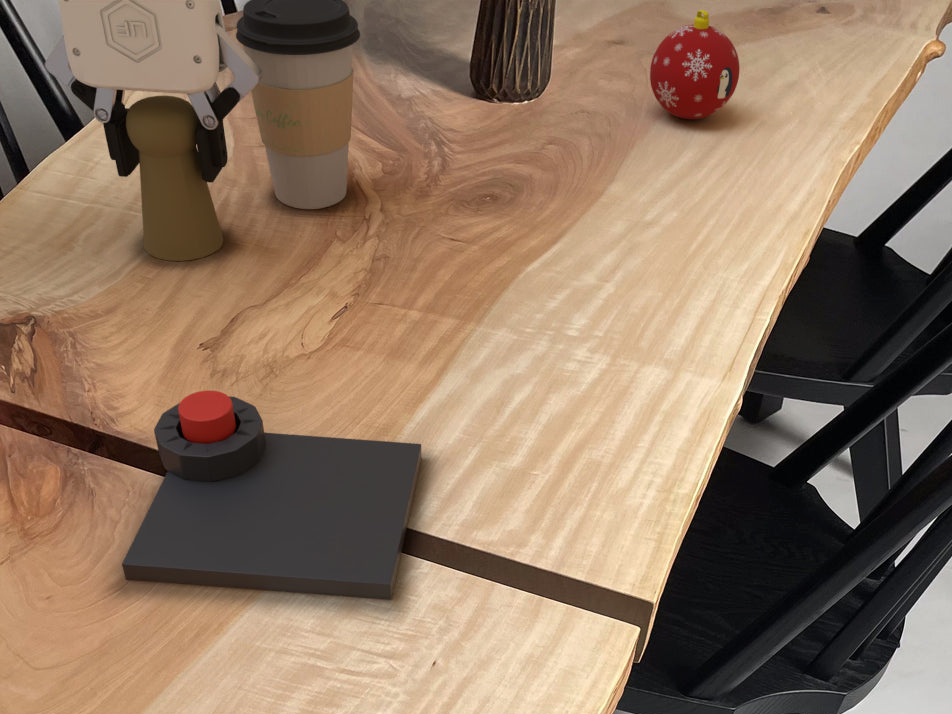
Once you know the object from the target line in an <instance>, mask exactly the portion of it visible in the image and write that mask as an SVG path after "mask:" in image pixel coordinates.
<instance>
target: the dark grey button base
mask: <svg viewBox="0 0 952 714" xmlns="http://www.w3.org/2000/svg"><path fill="white" fill-rule="evenodd" d="M228 396H229V395H228ZM229 398H230V399H231V400H232V404H233V410H234V417H235V423H236V429H235V432H234V434H233V435H232V436H230V437H229V438H227V439H226V440H223V441H219V442H214V443H210V444H201V443H191V442H189V441H188V440H187V439H186V438H185V437H184V435H183V432H182V427H181V422H180V417H179V412H178V406H179V404H180V402H179V403H177V404H175V405H174V406H172V407H170V408H169V409H167V410H165V411H164V412H163V413H162V414H161V415H160V417H159V419H158V421H157V423H156V424H155V427H154V428H153V432H154V437H155V442H156V446H157V450H158V454H159V457H160V459H161V462H162V465H163V467H164V469H165V470H166V471H167V472H166V473H165V476H164V478H163V480H162V482H161V483H160V486H159V488H158V489H157V491H156V493H155V496H154V498H153V499H152V502H151V504H150V506H149V508H148V510H147V512H146V514H145V516H144V518H143V520H142V522H141V524H140V526H139V528H138V531H137V533H136V534H135V536H134V539H133V540H132V542H131V545H130V546H129V549H128V551H127V553H126V554H125V556H124V558H123V560H122V562H121V567H122V570H123V574H124V578H125V580H126V581H135V582H136V581H137V582H148V583H149V582H150V583H151V582H152V583H165V584H175V585H190V586H205V587H216V588H229V589H243V590H253V591H255V590H256V591H269V592H279V593H293V594H294V593H295V594H308V595H321V596H333V597H346V598H360V599H373V600H374V599H375V600H385V601H391V600H393V599H392V598H393V593H394V589H395V585H396V580H397V575H398V570H399V567H400V561H401V557H402V552H403V548H404V542H405V537H406V533H407V530H408V524H409V519H410V515H411V511H412V505H413V501H414V496H415V492H416V491H415V490H416V486H417V482H418V477H419V473H420V469H421V463H422V459H423V458H422V455H423V454H422V444H421V443H414V442H413V443H412V442H401V441H385V440H373V439H360V438H359V439H357V438H346V437H345V438H343V437H331V436H317V435H302V434H292V433H291V434H289V433H275V432H265V428H264V422H263V421H264V420H263V418H262V416H261V415H260V413H259V411H258V409H257V407H256V406H254V404H251V403H249V402H248V401H244V400H243V399H241V398H239V397H235V396H229Z"/></svg>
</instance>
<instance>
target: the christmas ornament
mask: <svg viewBox="0 0 952 714" xmlns="http://www.w3.org/2000/svg"><path fill="white" fill-rule="evenodd" d="M702 14H703V15H702ZM709 24H710V18H709V12H708V11H707V10H704V9H699V10H698V11H697V12H696V17H695V18H694V21H693V24H688V25H684V26H681V27H678V28H677V29H675V30H673V31H672V32H670V33H669V34H668V35H667V36H665V37H664V38H663V39H662V41H661V42H660V43H659V44H658V46H657V48H656V50H655V52H654V53H653V55H652V59H651V63H650V67H649V80H650V87H651V90H652V93H653V95H654V97H655V99H656V101H657V102H658V103H659V105H660V106H661V107H662V108H663V109H664V111H666V112H668V113H669V114H670V115H672V116H675V117H677V118H680V119H684V120H701V119H704V118H708V117H710V116H712V115H714V114H716V113H718V111H720V110H721V109H723V108H724V106H726V105H727V103H728V102H729V101H730V100H731V98H732V96H733V95H734V93H735V91H736V88H737V86H738V83H739V79H740V59H739V55H738V51H737V50H736V47H735V46H734V43H732V41H731V39H730V38H729V37H728V36H727V35H726V34H725V33H724V32H722V31H721V30H719V29H718V28H715V27H714V26H711V25H709Z"/></svg>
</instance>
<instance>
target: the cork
mask: <svg viewBox="0 0 952 714" xmlns="http://www.w3.org/2000/svg"><path fill="white" fill-rule="evenodd" d="M199 125H200V123H199V118H198V116H197V113H196V111H195V109H194V107H193V105H192V103H191V102H190V101H189V100H186V99H184V98H181V97H179V96H174V95H154V96H147V97H144V98H141V99H139V100H136V101H135V102H134V103H132V105H130V106H129V110H128V113H127V117H126V129H127V133H128V136H129V138H130V140H131V142H132V143H133V145H134V146H135V147H136V148H137V149H138V150H139V162H140V163H139V180H140V196H141V216H142V217H141V219H142V232H143V233H142V234H143V235H142V237H143V249H144V250H145V252H146V253H147V254H148V255H150V256H151V257H154V258H157V259H160V260H163V261H171V262H184V261H192V260H197V259H202V258H205V257H207V256H210V255H212V254H214V253H215V252H217V251H218V250H220V248H221V247H222V246H223V244H224V235H223V233H222V228H221V226H220V221H219V218H218V214H217V212H216V208H215V205H214V202H213V198H212V195H211V192H210V188H209V184H208V182H205V180H203V179H202V174H201V168H200V162H199V155H198V149H197V142H196V136H195V131H196V129H197V128H198V126H199Z"/></svg>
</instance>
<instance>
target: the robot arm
mask: <svg viewBox="0 0 952 714" xmlns="http://www.w3.org/2000/svg"><path fill="white" fill-rule="evenodd" d="M58 5H59V12H60V13H59V14H60V21H61V27H62V34H63V35H62V36H61V38H60V39H59V41H58V42H57V44H56V45H55V47H54V48H53V50H52V51H51V52H50V54H49V55H48V57H47V59H46V60H45V62H44V67H45V69H46V71H47V72H48V73H49V74H50V75H52V76H53V77H54V78H55V79H57V80H58V81H59V82H61V83H62V85H64V86H65V87H68V88H69V89H70V90H71V93H72V94H73V95H74V96H75V97H77V99H79V100H80V101H81V102H82V103H83V104H84V105H85V106H86V107H88V108H89V109H90V110H91V111H92V112H93V116H94V118H95V120H96V121H97V122H100V123H102V126H103V131H104V135H105V140H106V145H107V148H108V155H109V158H110V160H112V161H115V165H116V166H115V167H116V171H117V175H118V176H119V177H122V178H127V177H129V176H130V175H131V174H133V172H134V171H135V170H136V168H137V167H138V166H139V165H140V162H139V150H138V149H137V148H136V147H135V146H134V145H133V143H132V142H131V140H130V138H129V136H128V133H127V129H126V117H127V113H128V110H129V108H130V107H129V108H128V107H126V105H125V103H124V101H125V96H126V95H125V94H126V91H132V92H133V91H134V92H147V93H150V92H151V93H166V94H185V95H186V96H187V97H188V99H189V102H190V104H191V105H192V106H193V107H194V109H195V111H196V113H197V116H198V118H199V123H200V125H199V126H198V128H197V129H196V131H195V136H196V142H197V145H196V147H197V150H198V155H199V162H200V168H201V174H202V179H203V180H205V182H207V183H214V182H215V180H216V178H217V177H218V176H219V175H220V173H221V171H222V170H223V168H225V167H226V166H227V164H228V157H229V156H228V148H227V140H226V133H225V126H224V120H225V118H226V117H227V116H228V115H229V114H230V113H231V111H233V110H234V108H235V107H236V106H237V105H238V104H239V103H240V102H241V101H242V100H243V99H244V98H245V97H246V96H247V95H248V94H249V93H251V90H252V89H253V88H254V87H255V86H256V85H257V84H258V83H259V81H260V80H261V78H262V77H263V73H262V70H261V69H260V68H259V67H258V65H257V64H256V63H255V62H254V61H253V60H252V59H251V58H250V57H249V56H248V55H247V54H246V53H245V51H244V49H243V48H242V47H241V46H240V45H239V44H238V43H237V42H236V41H235V40H234V39H233V38H232V37H231V36H230V35H229V33H228V32H227V31H226V25H225V20H224V15H223V8H222V5H221V0H58ZM226 69H229V70H230V71H231V73H232V74H233V76H234V78H233V79H232V81H231V82H230V83H228V84H227V85H226V87H224V89H223V90H222V91H221V90H220V88H219V86H218V83H217V82H218V78H219V73H221V72H223V71H225V70H226Z"/></svg>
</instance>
